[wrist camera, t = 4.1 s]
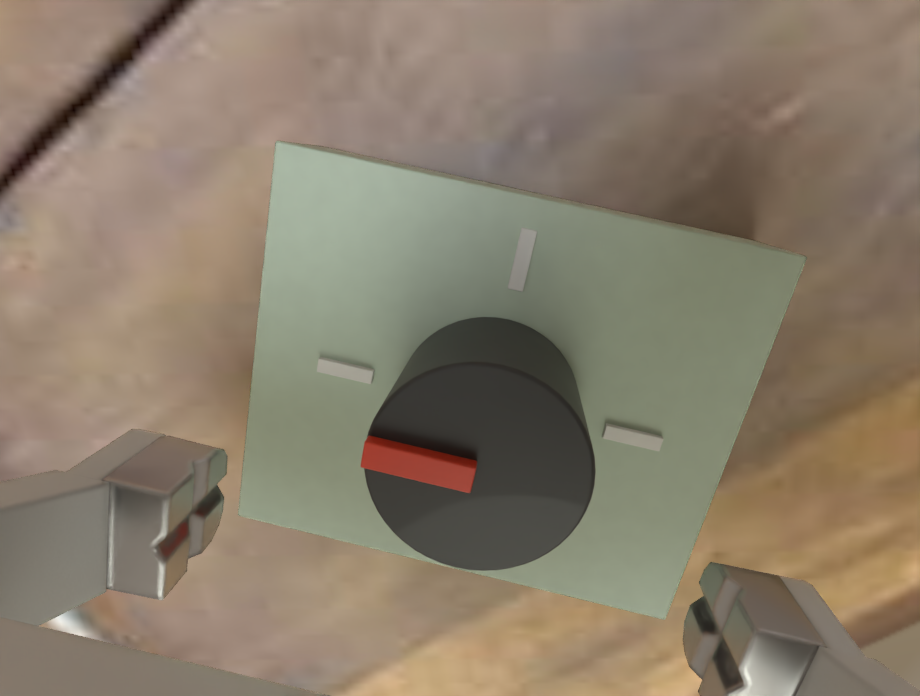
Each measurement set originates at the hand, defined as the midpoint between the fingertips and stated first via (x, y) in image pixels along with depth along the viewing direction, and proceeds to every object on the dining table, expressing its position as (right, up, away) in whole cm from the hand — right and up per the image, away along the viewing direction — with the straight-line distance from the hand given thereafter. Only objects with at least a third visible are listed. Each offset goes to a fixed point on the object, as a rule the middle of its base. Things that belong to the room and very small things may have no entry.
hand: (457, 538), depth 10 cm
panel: (+1, +3, +7) cm, 8 cm away
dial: (+1, +2, +5) cm, 5 cm away
